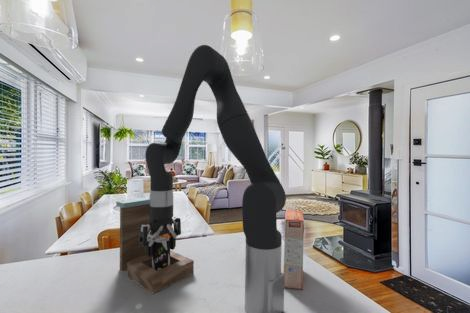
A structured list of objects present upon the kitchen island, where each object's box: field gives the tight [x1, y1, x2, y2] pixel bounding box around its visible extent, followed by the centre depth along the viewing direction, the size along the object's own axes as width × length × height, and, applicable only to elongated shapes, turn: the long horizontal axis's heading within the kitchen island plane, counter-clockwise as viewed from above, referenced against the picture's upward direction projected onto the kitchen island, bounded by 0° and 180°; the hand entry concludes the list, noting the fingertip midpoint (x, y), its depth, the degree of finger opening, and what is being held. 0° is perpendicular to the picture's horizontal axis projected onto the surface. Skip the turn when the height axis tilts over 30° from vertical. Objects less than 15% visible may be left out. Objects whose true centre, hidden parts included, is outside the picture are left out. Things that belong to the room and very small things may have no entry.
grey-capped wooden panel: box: [115, 196, 159, 272], centre depth 87 cm, size 5×16×24 cm, turn 141°
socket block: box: [126, 249, 195, 294], centre depth 79 cm, size 15×15×4 cm
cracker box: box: [283, 209, 305, 290], centre depth 79 cm, size 14×6×21 cm, turn 167°
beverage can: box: [152, 236, 171, 271], centre depth 79 cm, size 6×6×12 cm
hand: (161, 252), depth 79 cm, fingers open, 8 cm apart
